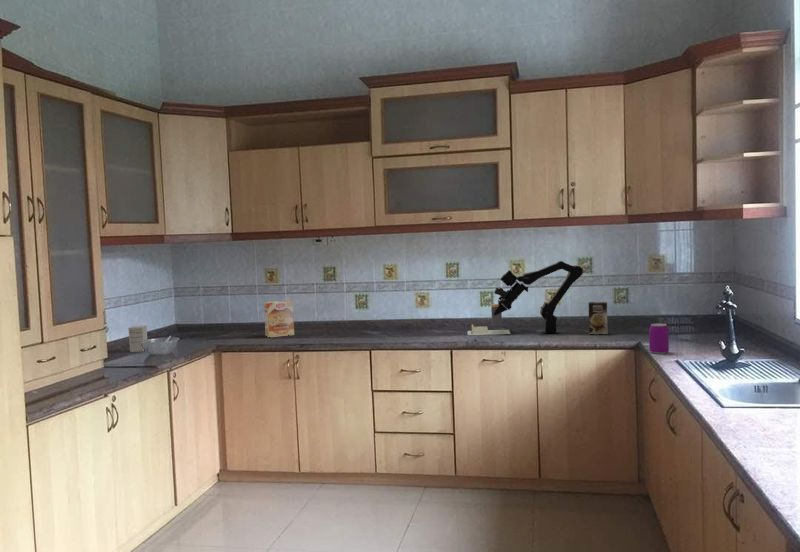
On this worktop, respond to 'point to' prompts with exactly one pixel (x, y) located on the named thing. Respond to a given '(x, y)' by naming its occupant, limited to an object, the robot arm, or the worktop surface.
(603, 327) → the coffee box
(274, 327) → the coffeecake box
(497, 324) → the plug
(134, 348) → the supplement box
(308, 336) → the worktop surface
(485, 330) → the board
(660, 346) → the beverage can
